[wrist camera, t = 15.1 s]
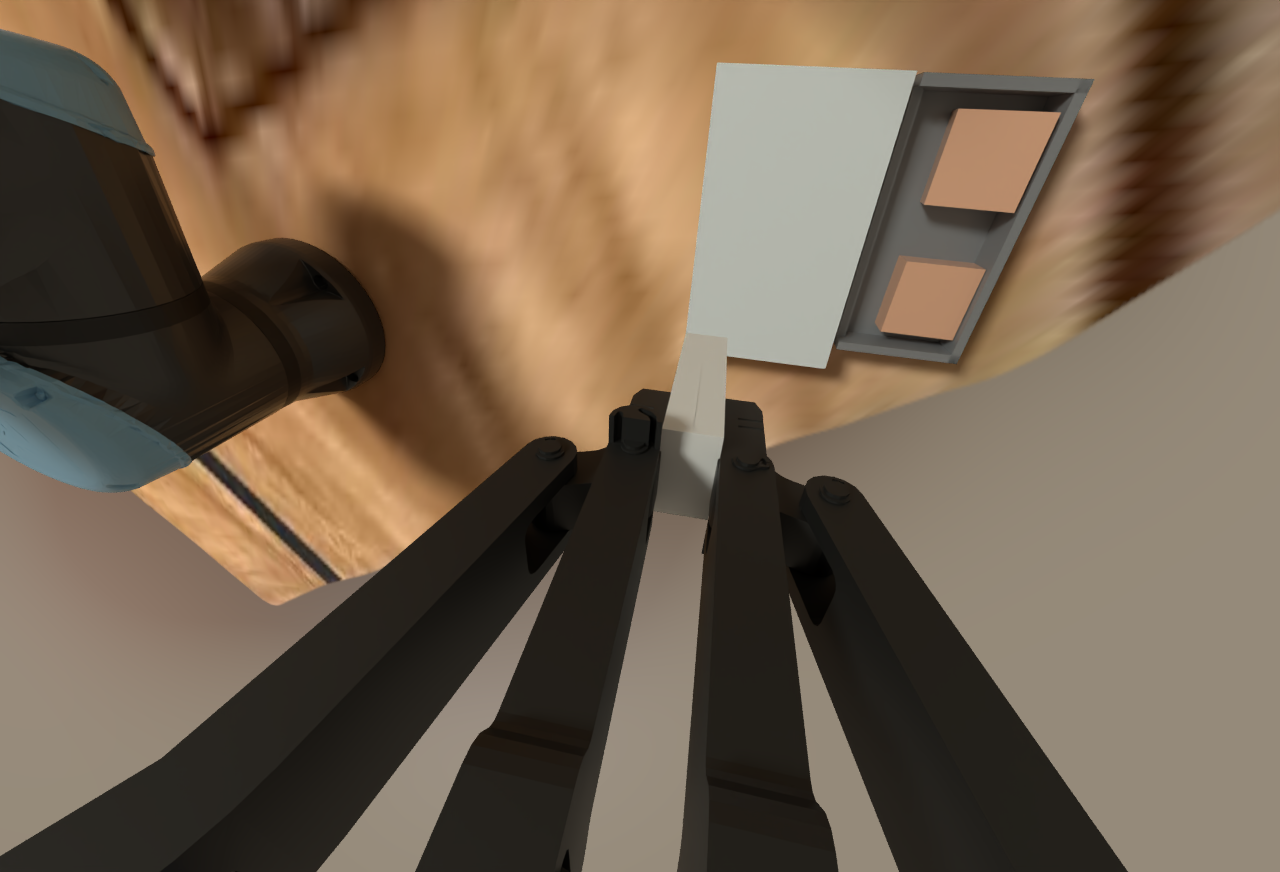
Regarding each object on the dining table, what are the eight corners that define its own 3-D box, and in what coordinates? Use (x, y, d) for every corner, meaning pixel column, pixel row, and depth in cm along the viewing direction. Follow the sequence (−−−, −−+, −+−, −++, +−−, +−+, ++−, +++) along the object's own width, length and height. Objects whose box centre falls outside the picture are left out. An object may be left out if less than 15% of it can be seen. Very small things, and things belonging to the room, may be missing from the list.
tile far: (952, 340, 33) (942, 330, 35) (985, 269, 30) (973, 263, 32) (880, 331, 34) (874, 322, 35) (907, 261, 31) (899, 255, 32)
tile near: (1014, 212, 28) (1005, 209, 29) (1061, 112, 25) (1048, 114, 26) (923, 204, 29) (920, 201, 30) (958, 108, 26) (952, 110, 28)
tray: (830, 335, 37) (836, 349, 34) (908, 78, 28) (924, 72, 25) (942, 348, 36) (956, 363, 33) (1062, 84, 26) (1094, 79, 24)
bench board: (688, 335, 39) (684, 350, 36) (720, 70, 29) (717, 62, 26) (819, 351, 38) (825, 368, 35) (900, 78, 28) (917, 70, 25)
